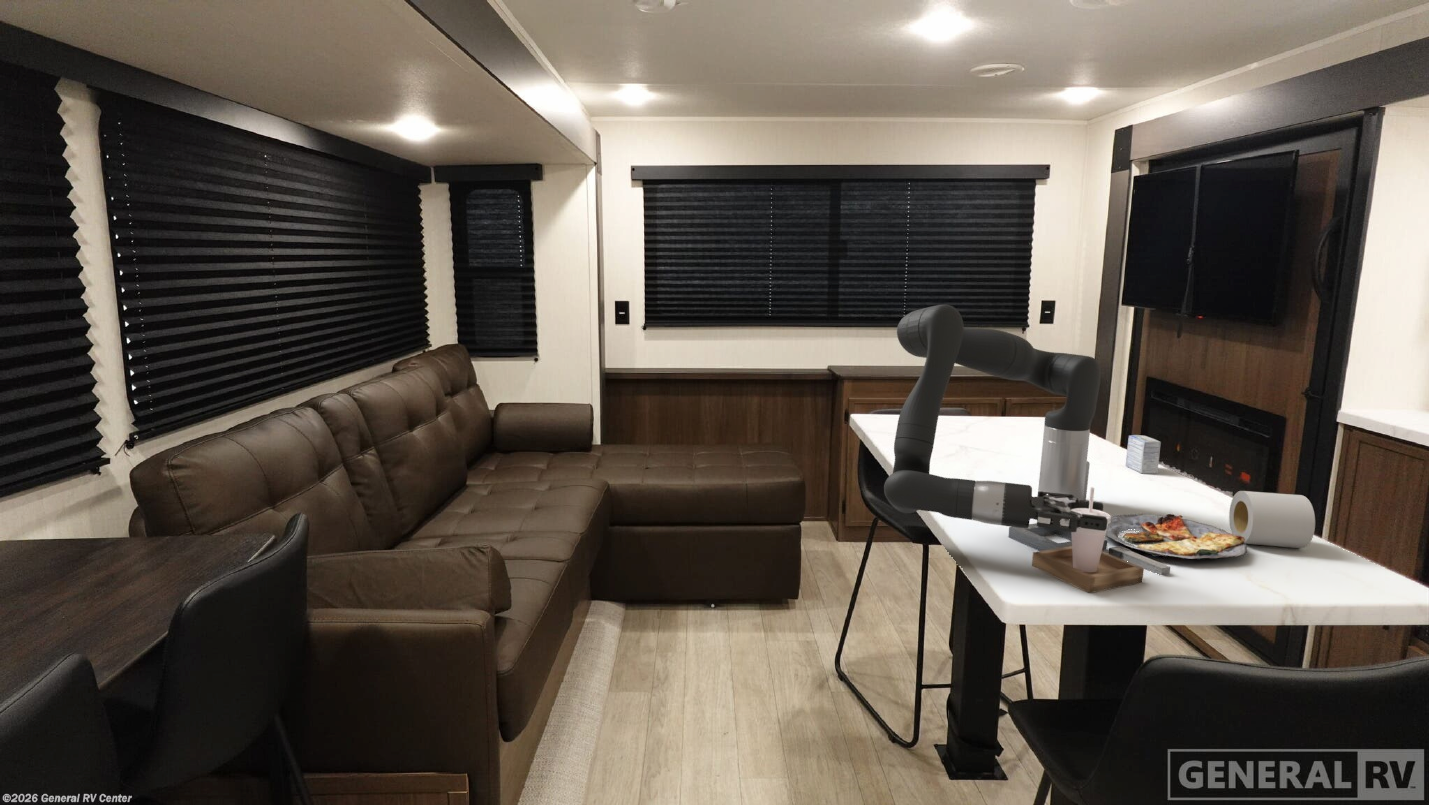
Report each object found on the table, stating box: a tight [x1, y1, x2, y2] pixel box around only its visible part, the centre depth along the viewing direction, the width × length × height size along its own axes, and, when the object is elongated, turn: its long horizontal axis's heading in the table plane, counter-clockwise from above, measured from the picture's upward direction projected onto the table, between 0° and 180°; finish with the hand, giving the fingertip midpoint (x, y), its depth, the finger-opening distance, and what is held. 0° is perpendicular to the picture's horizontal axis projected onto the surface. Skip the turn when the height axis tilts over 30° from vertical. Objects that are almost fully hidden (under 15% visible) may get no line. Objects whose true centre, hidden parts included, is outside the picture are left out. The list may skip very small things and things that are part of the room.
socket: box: [1007, 522, 1108, 552], centre depth 144 cm, size 12×12×2 cm
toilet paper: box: [1228, 490, 1316, 549], centre depth 145 cm, size 10×10×10 cm
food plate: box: [1105, 513, 1248, 560], centre depth 145 cm, size 25×23×4 cm
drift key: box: [1107, 545, 1171, 576], centre depth 134 cm, size 10×3×2 cm, turn 21°
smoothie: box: [1071, 487, 1112, 572], centre depth 128 cm, size 6×6×14 cm
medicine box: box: [1125, 434, 1162, 475], centre depth 200 cm, size 8×4×9 cm, turn 179°
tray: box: [1031, 546, 1145, 594], centre depth 129 cm, size 12×12×2 cm
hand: (1104, 516), depth 127 cm, fingers open, 8 cm apart
